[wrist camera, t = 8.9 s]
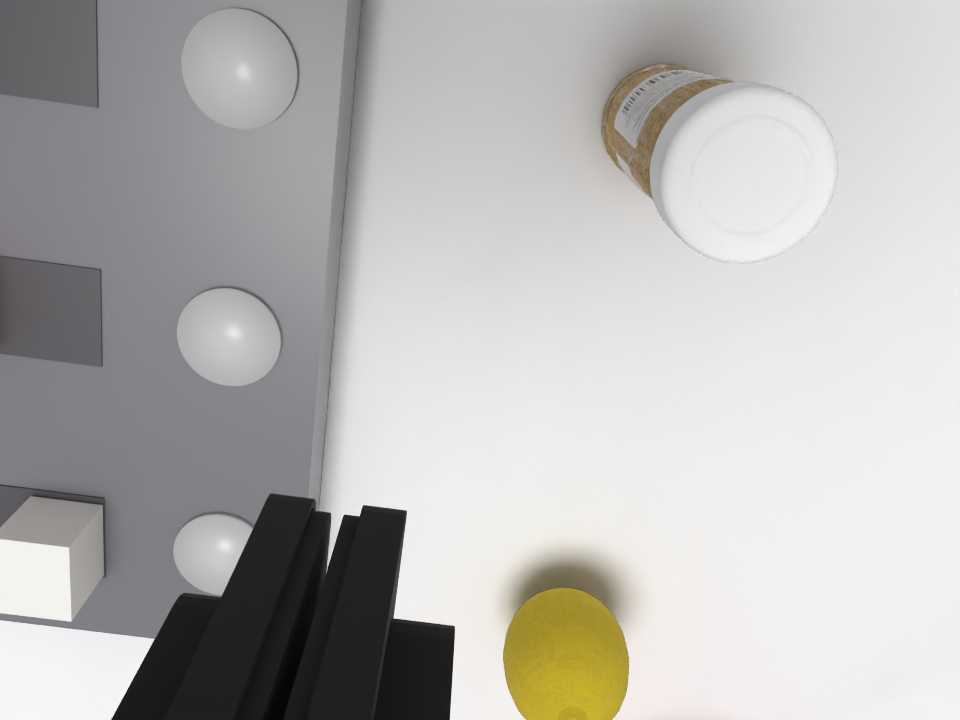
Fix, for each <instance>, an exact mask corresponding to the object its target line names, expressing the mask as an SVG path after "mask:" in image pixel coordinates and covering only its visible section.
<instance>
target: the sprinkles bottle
mask: <svg viewBox="0 0 960 720" xmlns="http://www.w3.org/2000/svg"><path fill="white" fill-rule="evenodd" d="M602 137H603V141H604V144H605V147H606V150H607V152H608V154H609V155H610V156H611V158H612V160H613V161H614V162H615V164H616V166H617V167H618V168H619V169H620V170H622V171H623V172H625V173H626V174H627V176H628V177H629V178H630V179H631V180H632V181H633V182H634V184H636V185H637V186H638V188H639V189H641V190H642V191H643V192H644V193H645V194H646V195H647V196H649V197H650V198H651V199H653V201H654V203H655V206H656V208H657V210H658V212H659V214H660V216H661V217H662V219H663V220H664V222H665V223H666V224H667V225H668V226H669V228H670V229H671V230H672V231H673V232H674V233H675V234H676V235H677V236H678V237H679V238H680V239H681V240H682V241H683V242H684V243H685V244H687V245H688V246H689V247H691V248H692V249H693V250H695V251H697V252H698V253H700V254H702V255H704V256H706V257H708V258H711V259H714V260H717V261H721V262H726V263H740V264H743V263H753V262H759V261H762V260H766V259H770V258H772V257H775V256H777V255H780V254H782V253H783V252H785V251H787V250H789V249H791V248H792V247H794V246H795V245H796V244H798V243H799V242H800V241H802V240H803V239H804V238H805V237H806V236H807V235H808V234H809V233H810V232H811V231H812V230H813V229H814V227H815V226H816V225H817V224H818V222H819V221H820V220H821V218H822V216H823V215H824V213H825V212H826V210H827V208H828V206H829V204H830V201H831V198H832V196H833V193H834V189H835V185H836V179H837V172H838V167H837V152H836V147H835V143H834V140H833V137H832V135H831V133H830V131H829V128H828V127H827V125H826V123H825V122H824V120H823V119H822V117H821V116H820V115H819V114H818V113H817V111H816V110H815V109H814V108H812V107H811V106H810V105H809V104H808V103H806V102H805V101H804V100H803V99H801V98H799V97H797V96H795V95H793V94H791V93H789V92H787V91H784V90H782V89H779V88H776V87H773V86H769V85H764V84H760V83H754V82H734V81H731V80H727V79H724V78H720V77H716V76H712V75H708V74H704V73H699V72H695V71H689V70H687V69H686V68H683V67H680V66H676V65H672V64H655V65H651V66H648V67H646V68H642V69H639V70H638V71H636V72H634V73H632V74H630V75H628V76H627V77H626V78H625V79H623V81H622V82H621V83H620V84H619V85H618V86H617V87H616V88H615V90H614V91H613V92H612V94H611V96H610V98H609V100H608V102H607V105H606V107H605V109H604V113H603V120H602Z"/></svg>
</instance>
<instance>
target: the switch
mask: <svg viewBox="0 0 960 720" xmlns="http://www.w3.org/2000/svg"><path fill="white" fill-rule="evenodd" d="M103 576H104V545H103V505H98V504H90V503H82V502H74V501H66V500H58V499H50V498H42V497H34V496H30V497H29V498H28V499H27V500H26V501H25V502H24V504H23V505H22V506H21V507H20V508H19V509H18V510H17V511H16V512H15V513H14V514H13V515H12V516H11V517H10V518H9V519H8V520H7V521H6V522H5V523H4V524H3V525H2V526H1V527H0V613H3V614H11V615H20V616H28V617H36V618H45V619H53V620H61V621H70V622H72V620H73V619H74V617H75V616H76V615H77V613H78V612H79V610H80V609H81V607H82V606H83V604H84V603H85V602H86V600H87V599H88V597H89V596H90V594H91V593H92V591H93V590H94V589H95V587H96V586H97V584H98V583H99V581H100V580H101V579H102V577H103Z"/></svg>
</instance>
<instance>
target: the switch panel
mask: <svg viewBox="0 0 960 720" xmlns="http://www.w3.org/2000/svg"><path fill="white" fill-rule="evenodd" d="M361 2H362V0H0V527H1V526H2V525H3V524H4V523H5V522H6V521H7V520H8V519H9V518H10V517H11V516H12V515H13V514H14V513H15V512H16V511H17V510H18V509H19V508H20V507H21V506H22V505H23V504H24V502H25V501H26V500H27V499H28V498H29V497H30V496H34V497H42V498H50V499H58V500H66V501H74V502H82V503H90V504H98V505H103V545H104V576H103V577H102V579H101V580H100V581H99V583H98V584H97V586H96V587H95V589H94V590H93V591H92V593H91V594H90V596H89V597H88V599H87V600H86V602H85V603H84V604H83V606H82V607H81V609H80V610H79V612H78V613H77V615H76V616H75V617H74V619H73V620H72V622H70V621H61V620H53V619H45V618H36V617H28V616H20V615H11V614H3V613H0V620H4V621H12V622H21V623H29V624H37V625H46V626H54V627H62V628H71V629H79V630H87V631H96V632H104V633H112V634H121V635H129V636H137V637H145V638H154V639H155V638H156V636H157V634H158V632H159V631H160V629H161V627H162V625H163V623H164V621H165V619H166V618H167V616H168V614H169V612H170V610H171V608H172V606H173V605H174V603H175V601H176V600H177V599H178V597H179V596H180V595H181V594H183V593H192V594H200V595H208V596H216V597H222V594H223V592H224V590H225V588H226V586H227V584H228V581H229V579H230V577H231V575H232V573H233V571H234V569H235V566H236V564H237V562H238V560H239V558H240V556H241V553H242V551H243V549H244V547H245V545H246V543H247V541H248V538H249V536H250V534H251V532H252V530H253V528H254V525H255V523H256V521H257V519H258V517H259V515H260V513H261V510H262V508H263V506H264V504H265V502H266V500H267V498H268V496H269V494H271V493H273V494H281V495H289V496H296V497H304V498H312V499H315V500H316V511H319V501H320V489H321V477H322V465H323V453H324V441H325V429H326V418H327V406H328V394H329V382H330V370H331V358H332V346H333V334H334V323H335V311H336V299H337V287H338V275H339V263H340V251H341V239H342V228H343V216H344V204H345V192H346V180H347V168H348V156H349V145H350V133H351V121H352V109H353V97H354V85H355V73H356V61H357V50H358V38H359V26H360V14H361Z"/></svg>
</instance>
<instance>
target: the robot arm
mask: <svg viewBox="0 0 960 720" xmlns="http://www.w3.org/2000/svg"><path fill="white" fill-rule="evenodd" d="M406 515H407V511H405V510H397V509H389V508H382V507H374V506H366V505H363V507H362V511H361V514H360V517H359V516H351V515H344V516H343V519H342V522H341V526H340V529H339V533H338V536H337V539H336V543H335V546H334V550H333V553H332V556H331V560H330V563H329V566H328V570H327V573H326V569H327V558H328V547H329V537H330V526H331V513H328V512H320V511H316V500H315V499H312V498H304V497H296V496H289V495H281V494H273V493H271V494H269V496H268V498H267V500H266V502H265V504H264V506H263V508H262V510H261V513H260V515H259V517H258V519H257V521H256V523H255V525H254V528H253V530H252V532H251V534H250V536H249V538H248V541H247V543H246V545H245V547H244V549H243V551H242V553H241V556H240V558H239V560H238V562H237V564H236V566H235V569H234V571H233V573H232V575H231V577H230V579H229V581H228V584H227V586H226V588H225V590H224V592H223V594H222V597H216V596H208V595H200V594H192V593H183V594H181V595H180V596H179V597H178V599H177V600H176V601H175V603H174V605H173V606H172V608H171V610H170V612H169V614H168V616H167V618H166V619H165V621H164V623H163V625H162V627H161V629H160V631H159V632H158V634H157V636H156V638H155V640H154V642H153V644H152V645H151V647H150V649H149V651H148V653H147V655H146V657H145V658H144V660H143V662H142V664H141V666H140V668H139V670H138V671H137V673H136V675H135V677H134V679H133V681H132V682H131V684H130V686H129V688H128V690H127V692H126V694H125V695H124V697H123V699H122V701H121V703H120V705H119V707H118V708H117V710H116V712H115V714H114V716H113V718H112V720H450V705H451V688H452V672H453V655H454V638H455V627H454V626H449V625H441V624H433V623H425V622H417V621H409V620H401V619H393V617H394V609H395V601H396V593H397V586H398V578H399V570H400V562H401V554H402V547H403V539H404V531H405V523H406Z"/></svg>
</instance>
